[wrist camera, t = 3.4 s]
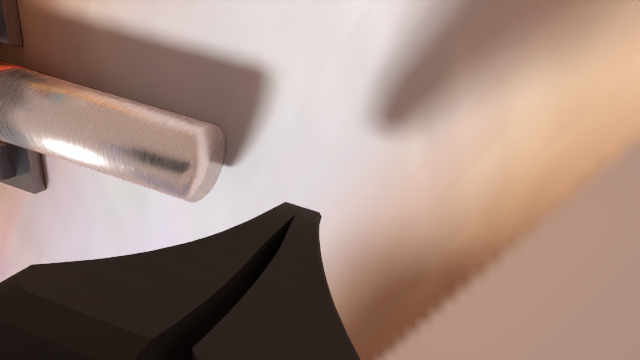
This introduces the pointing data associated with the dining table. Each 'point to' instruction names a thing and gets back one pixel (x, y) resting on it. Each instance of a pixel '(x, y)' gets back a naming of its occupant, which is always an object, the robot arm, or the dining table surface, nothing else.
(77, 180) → the dining table surface
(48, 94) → the silver cylinder
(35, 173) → the grey holder stand
